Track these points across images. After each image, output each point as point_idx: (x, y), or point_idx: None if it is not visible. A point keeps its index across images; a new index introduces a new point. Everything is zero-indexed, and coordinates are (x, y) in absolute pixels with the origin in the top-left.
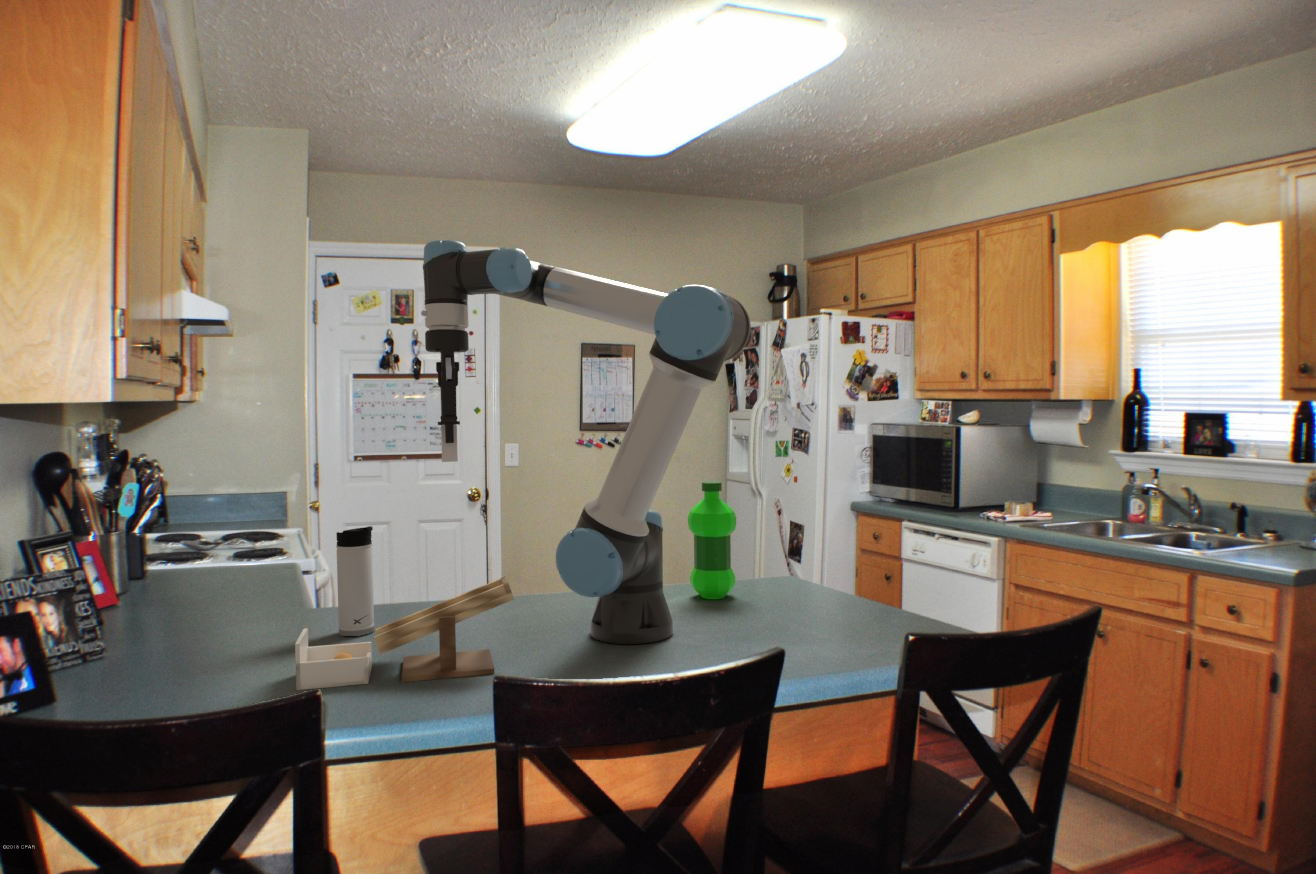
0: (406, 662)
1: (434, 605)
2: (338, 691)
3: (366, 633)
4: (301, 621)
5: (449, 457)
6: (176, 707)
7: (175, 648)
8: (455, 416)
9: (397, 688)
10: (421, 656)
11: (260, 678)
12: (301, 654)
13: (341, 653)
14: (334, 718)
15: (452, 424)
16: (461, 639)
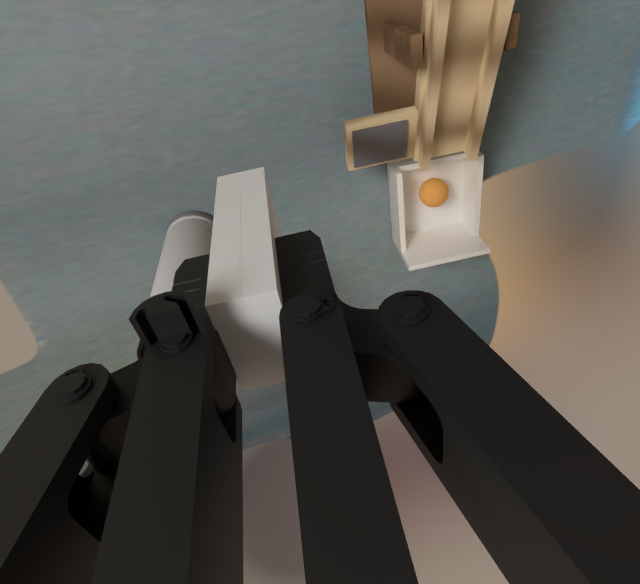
0: (409, 104)
1: (435, 76)
2: (486, 171)
3: (212, 217)
4: (130, 330)
5: (275, 217)
6: (479, 311)
7: (267, 399)
8: (453, 320)
9: (504, 92)
10: (381, 85)
11: (405, 277)
12: (467, 242)
13: (438, 200)
14: (585, 145)
15: (346, 311)
16: (243, 28)
